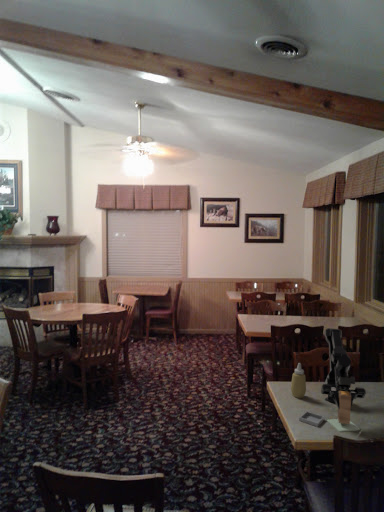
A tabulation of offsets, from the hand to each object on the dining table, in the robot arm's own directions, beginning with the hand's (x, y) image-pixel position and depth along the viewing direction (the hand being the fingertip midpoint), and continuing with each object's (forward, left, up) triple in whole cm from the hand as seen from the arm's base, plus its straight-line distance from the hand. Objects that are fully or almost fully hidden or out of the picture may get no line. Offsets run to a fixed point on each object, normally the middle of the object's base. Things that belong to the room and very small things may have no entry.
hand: (344, 409), depth 173 cm
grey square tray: (+6, -13, -8) cm, 16 cm away
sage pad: (-1, -1, -8) cm, 9 cm away
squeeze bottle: (-14, -32, -9) cm, 36 cm away
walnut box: (-1, -1, -6) cm, 6 cm away
